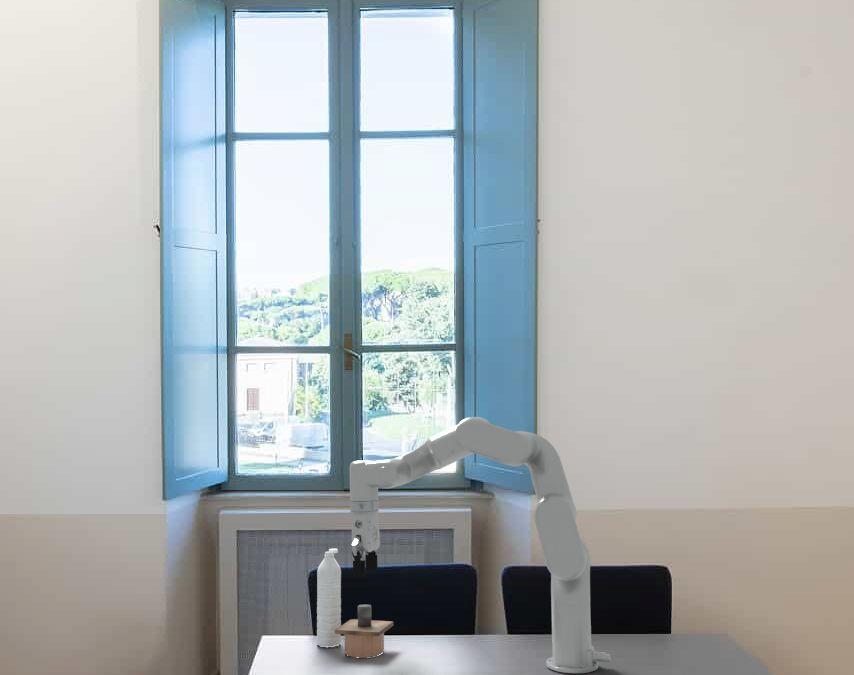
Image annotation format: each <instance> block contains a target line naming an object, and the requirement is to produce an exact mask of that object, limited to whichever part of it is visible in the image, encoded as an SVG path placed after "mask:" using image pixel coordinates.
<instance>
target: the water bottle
mask: <svg viewBox="0 0 854 675" xmlns="http://www.w3.org/2000/svg"><path fill="white" fill-rule="evenodd" d="M338 553H339V549H338V548H329V549H328V551H325V552H324V558H323V559H322V561H321V562H320V564H319V565H318V568H317V569H316V570H317V571H316V574H317V575H316V577H317V582H316V583H317V584H316V587H317V588H316V592H317V593H316V594H317V595H316V597H317V598H316V600H317V601H316V606H317V607H316V614H317V616H316V628H317V629H316V635H317V636H316V645H317V644H318V645H320V646H334V645H337V644H339V643H340V642H341V643H342V634H335V629H337V628H338V627H340V626H341V625H342V620H341V618H342V615H341V613H342V607H341V606H342V598H341V596H342V594H341V593H342V591H341V590H342V585H341V584H342V582H341V581H342V569H341V567H340V565H339V563H338V562H337V560H336V558H335V557H334V556H335V554H338Z"/></svg>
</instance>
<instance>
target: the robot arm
mask: <svg viewBox="0 0 854 675" xmlns="http://www.w3.org/2000/svg"><path fill="white" fill-rule="evenodd" d="M473 454H475V455H478V456H480V457H483V458H486V459H489V460H492V461H495V462H498V463H500V464H503V465H506V466H509V467H521V466H523V465H525V466H526V467H527V468H528V471H529V474H530V479H531V483H532V486H533V489H534V492H535V498H536V502H537V504H536V506H535V509H534V515H533V517H534V525H535V528H536V532H537V535H538V539H539V543H540V547H541V551H542V555H543V559H544V561H545V566H546V567H547V570H548V571H549V573H550V578H551V580H550V596H551V598H550V599H551V600H550V602H551V605H550V606H551V641H552V642H551V643H552V644H551V646H552V651H551V652H552V656H551V657H550V656H549V657H548V658H547V659H546V660H545V661H546V662H545V663H546V667H547V668H548V669H550V670H551V671H555V672H558V673H564V674H586V673H592V672H595V671H596V670H598V669H599V662H601V663H608V664H609V663H611V653H606V652H605V651H603V652H601V651H600V652H599V651H596V650H595V649H594V645H592V625H591V556H590V550H589V548H588V545H587V543H586V542H585V541H584V539H582V538H580V534H579V531H578V527H577V523H576V518H577V509H576V506H575V503H574V500H573V497H572V494H571V490H570V487H569V482H568V479H567V477H566V473H565V470H564V467H563V463H562V460H561V458H560V456H559V453H558V452H557V449H556V448H555V446H554V445H553V444H552V443H551V442H550V441H549V440H548V439H547V438H545V437H543V436H542V435H538V434H536V433H534V432H528V431H525V430H518V431H517V430H516V431H515V430H511V429H509V428H505V427H502V426H499V425H495V424H492V423H491V422H490V421H489V420H488V419H486V418H484V417H481V416H471V417H465V418H464V419H462V420H461V421H460V422H459V423H458V424H456V425H454V426H452V427H450V428H448V429H445V430H444V431H441V432H439V433H437V434H434V435H432V436H431V437H429V438H428V439H427V440H426V441H425V442H424V443H422V445H420V446H419V447H417V448H415V449H413V450H410V451H409V452H406V453H405V454H402V455H400V456H398V457H395V458H388V459H382V460H376V461H374V460H371V459H370V460H366V459H365V460H364V459H363V460H354V461H352V462H350V464H349V505H350V506H349V511H350V512H349V514H352V519H351V551H352V552H351V555H352V576H353V577H366V571H377V570H378V549H379V548H380V546H381V536H380V522H379V514H378V513H379V488H380V489H393V488H394V489H395V488H396V487H401V486H405V485H406V484H408V483H411V482H412V481H415V480H418V479H420V478H422V477H424V476H426V475H428V474H431V473H432V472H435V471H436V470H437V471H438V470H441V469H443V468H445V467H447V466H450V465H451V464H454V463H455V462H458V461H460V460H462V459H464V458H465V459H466V457H468V456H469V457H470V456H472V455H473Z"/></svg>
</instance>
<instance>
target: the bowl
mask: <svg viewBox="0 0 854 675" xmlns="http://www.w3.org/2000/svg"><path fill="white" fill-rule="evenodd" d="M384 650H385V632H384V633H383V634H381V635H380V636H363V635H347V634H344V654H345V653H346V654H347V655H348V656H351V657H350V658H352V657H359V658H358V659H368V658H367V657H373V656H377V655H379V654H381V653H382V652H383V653H384ZM348 656H347V657H348ZM377 657H378V656H377ZM373 658H374V657H373Z"/></svg>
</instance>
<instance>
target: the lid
mask: <svg viewBox="0 0 854 675" xmlns="http://www.w3.org/2000/svg"><path fill="white" fill-rule="evenodd" d="M393 626H394V621H391V620H390V621H388V620H387V621H386V620H372V605H371V604H359V605H357V618H356V619H355V618H354V619H353V618H351V619H349V620H348V621H346V622H345V623H343V624H341V626H340V627H338V628H337V629H335V634H341V635H345V634H347V635H363V636H380V635H381V634H383V633H384V634H385V633H386V632H387V631H388V630H390V629H391V628H392V627H393Z"/></svg>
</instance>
